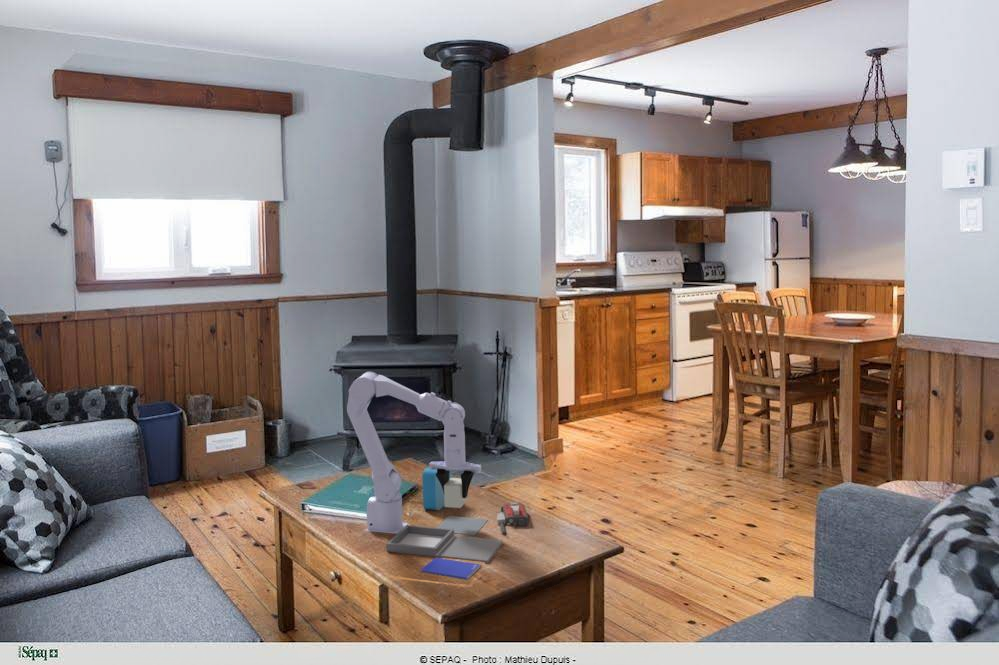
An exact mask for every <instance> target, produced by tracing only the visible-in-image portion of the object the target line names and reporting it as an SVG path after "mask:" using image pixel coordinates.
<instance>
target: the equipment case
mask: <svg viewBox="0 0 999 665" xmlns="http://www.w3.org/2000/svg"><path fill="white" fill-rule="evenodd" d="M503 543H504V540H503V539H496V538H486V537H476V536H464V535H463V536H462V535H455V533H454V529H445V528H437V527H432V526H431V527H430V526H424V525H423V526H422V525H410V524H408V525H407V526H405V527H404V528H403V529H402V530H401V531H400V532H399V533H397V534H395V536H393V537H392V538H391V539H389V541H387V542H386V546H385V547H386V552H389V553H390V552H391V553H399V554H409V555H417V556H418V555H419V556H429V557H435V558H445V559H456V560H467V561H477V562H484V564H489V563H490V561H491V559H493V557H494V556H495V554H496V553H497V552H498V550H499V549H500V548H501V546H502V545H503Z"/></svg>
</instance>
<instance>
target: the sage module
mask: <svg viewBox="0 0 999 665" xmlns="http://www.w3.org/2000/svg"><path fill="white" fill-rule="evenodd" d="M467 500H468V496H467V497H466V498H463V497H462V481H461V477H460V478H459V477H452V478H450V480H449V481H448V482H447V483H446V484H445V485H444V501H445V505H444V508H457V509H461V508H462V507H463V506H464V504H465V503H466V502H467Z"/></svg>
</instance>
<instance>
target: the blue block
mask: <svg viewBox="0 0 999 665" xmlns="http://www.w3.org/2000/svg"><path fill="white" fill-rule="evenodd" d="M436 473H437V470H429V466H428V467H427V468H426V469H424V470H423V472H422V477H421V478H422V479H421V480H422V507H423V509H425V510H429V511H430V510H431V511H440V510H441V509H442V508H444V507H445V501H444V492H443V489H442V486H441V484H440V482H439V480H438V478H437V477H436ZM452 474H453V471H450V474H449V480H450V478H453V477H452Z"/></svg>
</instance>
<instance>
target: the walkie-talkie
mask: <svg viewBox="0 0 999 665" xmlns="http://www.w3.org/2000/svg"><path fill="white" fill-rule="evenodd" d="M528 516H529V515H528V513H527V509H526V507H525V504H523V503H521V502H513V503H512V502H511V503H509V502H507V503H504V504H502V505H501V507H500V513H498V514H497V515H496V522H497V525H499V527H500V531H501V534H502V535H506V529H505V525H506V526H510V525H512V527H524V526H525V527H526V526H528V525H529V522H530V520H529V517H528Z"/></svg>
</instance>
